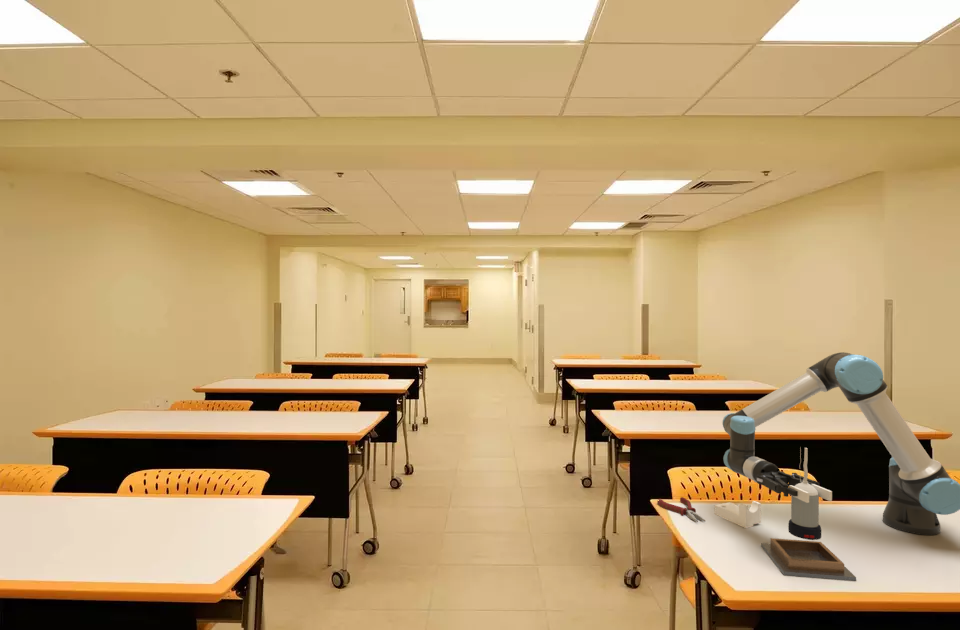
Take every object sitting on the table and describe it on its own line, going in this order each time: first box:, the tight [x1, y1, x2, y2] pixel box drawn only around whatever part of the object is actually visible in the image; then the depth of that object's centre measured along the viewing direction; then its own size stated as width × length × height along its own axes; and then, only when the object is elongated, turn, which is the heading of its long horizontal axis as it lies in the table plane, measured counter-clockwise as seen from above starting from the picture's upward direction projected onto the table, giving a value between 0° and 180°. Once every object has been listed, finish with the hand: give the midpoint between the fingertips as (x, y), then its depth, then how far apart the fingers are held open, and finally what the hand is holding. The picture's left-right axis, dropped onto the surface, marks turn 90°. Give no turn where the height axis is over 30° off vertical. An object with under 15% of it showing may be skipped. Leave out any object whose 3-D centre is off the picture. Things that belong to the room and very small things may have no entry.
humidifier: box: [787, 446, 822, 541], centre depth 153 cm, size 8×8×25 cm
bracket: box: [714, 500, 762, 529], centre depth 184 cm, size 13×7×8 cm, turn 22°
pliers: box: [657, 496, 706, 523], centre depth 191 cm, size 12×20×3 cm, turn 11°
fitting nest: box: [760, 537, 857, 582], centre depth 153 cm, size 18×18×4 cm
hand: (819, 497), depth 148 cm, fingers closed on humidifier, 7 cm apart
